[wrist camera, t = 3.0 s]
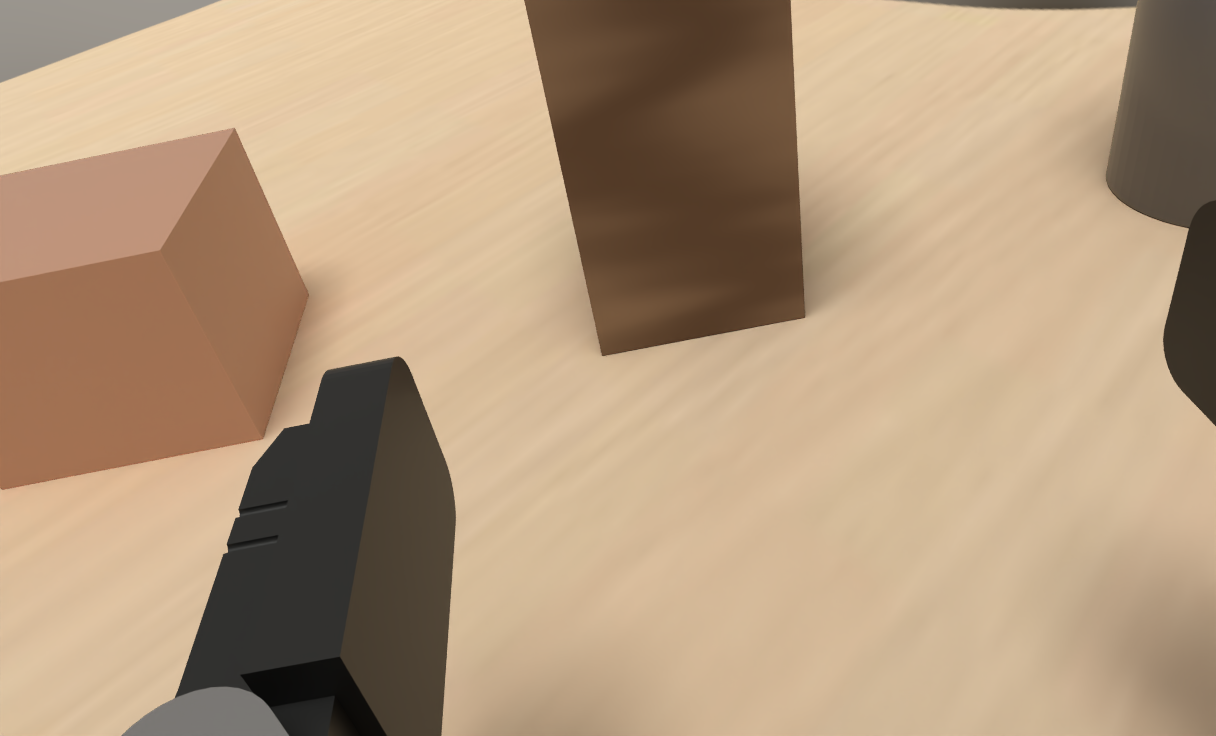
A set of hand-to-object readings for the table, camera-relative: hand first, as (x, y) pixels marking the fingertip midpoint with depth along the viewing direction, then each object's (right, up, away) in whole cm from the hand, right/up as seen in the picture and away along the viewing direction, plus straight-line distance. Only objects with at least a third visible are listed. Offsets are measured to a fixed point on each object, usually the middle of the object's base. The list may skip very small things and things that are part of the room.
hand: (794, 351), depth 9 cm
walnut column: (0, +2, +13) cm, 13 cm away
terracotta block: (-13, -1, +13) cm, 18 cm away
